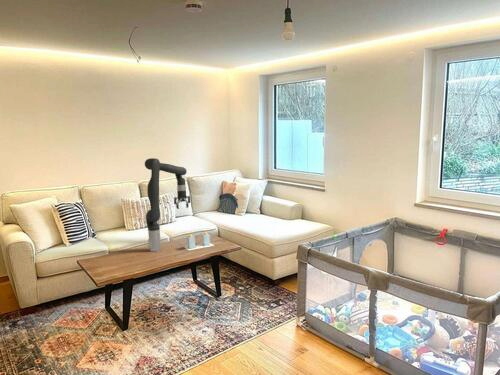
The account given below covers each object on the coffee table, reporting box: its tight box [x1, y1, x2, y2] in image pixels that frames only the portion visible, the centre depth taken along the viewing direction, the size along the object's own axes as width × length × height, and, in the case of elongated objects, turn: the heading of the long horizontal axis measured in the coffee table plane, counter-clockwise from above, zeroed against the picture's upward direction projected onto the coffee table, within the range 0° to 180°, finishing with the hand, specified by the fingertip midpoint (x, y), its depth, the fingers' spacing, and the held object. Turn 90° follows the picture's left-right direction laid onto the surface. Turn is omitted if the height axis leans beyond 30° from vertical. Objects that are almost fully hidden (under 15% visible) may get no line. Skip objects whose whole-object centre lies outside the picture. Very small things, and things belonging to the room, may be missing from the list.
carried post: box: [186, 234, 196, 249], centre depth 311 cm, size 5×5×10 cm
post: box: [201, 232, 211, 246], centre depth 318 cm, size 5×5×10 cm
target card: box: [183, 242, 215, 251], centre depth 315 cm, size 23×12×1 cm, turn 120°
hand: (182, 208), depth 334 cm, fingers open, 8 cm apart
